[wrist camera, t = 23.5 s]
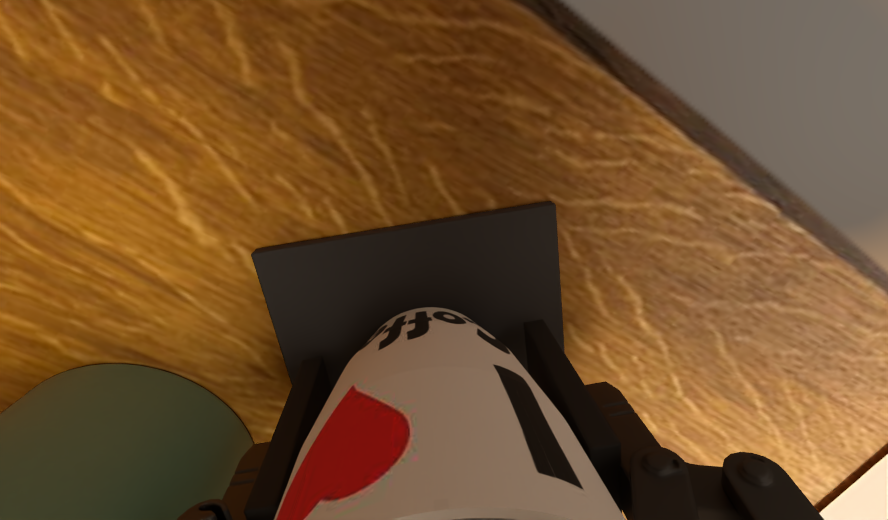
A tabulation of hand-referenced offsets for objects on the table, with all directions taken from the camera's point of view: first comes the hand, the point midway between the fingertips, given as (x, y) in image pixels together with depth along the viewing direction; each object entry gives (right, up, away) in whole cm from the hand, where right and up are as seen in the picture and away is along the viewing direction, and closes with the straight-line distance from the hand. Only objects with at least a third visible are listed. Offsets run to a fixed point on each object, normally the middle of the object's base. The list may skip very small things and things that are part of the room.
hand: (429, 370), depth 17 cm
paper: (+23, -18, +10) cm, 31 cm away
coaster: (0, 0, +1) cm, 1 cm away
